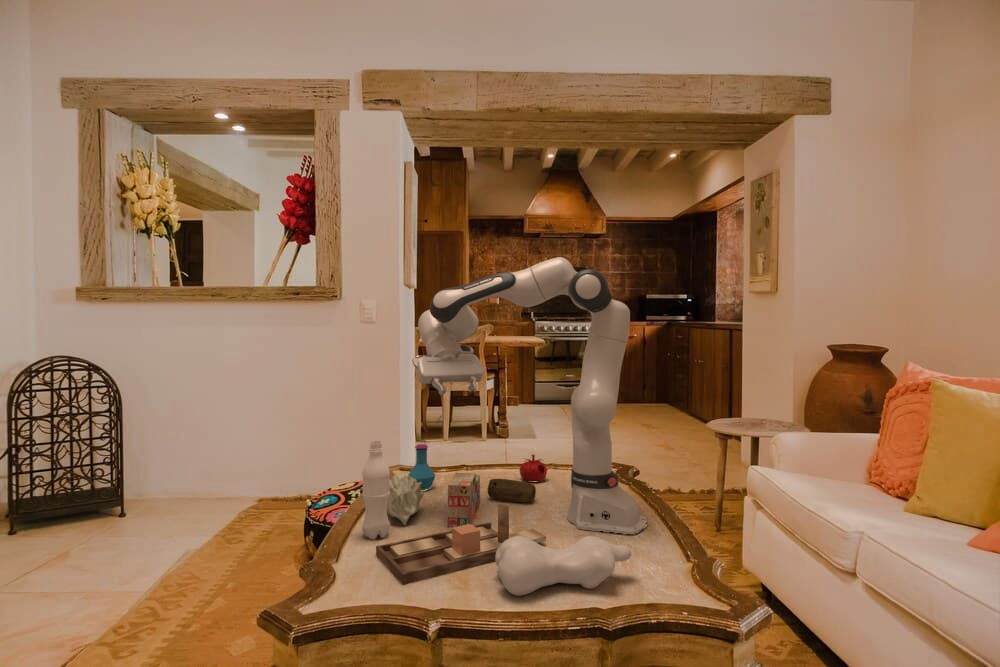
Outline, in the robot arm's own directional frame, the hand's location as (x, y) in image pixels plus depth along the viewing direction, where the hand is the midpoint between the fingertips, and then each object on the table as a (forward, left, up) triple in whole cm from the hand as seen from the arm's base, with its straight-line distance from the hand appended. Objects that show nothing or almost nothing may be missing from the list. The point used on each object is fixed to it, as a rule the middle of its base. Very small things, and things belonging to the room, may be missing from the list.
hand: (458, 391), depth 155 cm
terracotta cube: (-14, +18, -35) cm, 42 cm away
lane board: (-9, +18, -37) cm, 42 cm away
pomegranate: (+1, -50, -38) cm, 63 cm away
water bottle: (+15, +18, -38) cm, 44 cm away
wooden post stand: (-18, +11, -36) cm, 42 cm away
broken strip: (-6, +15, -37) cm, 41 cm away
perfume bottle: (+30, -22, -38) cm, 53 cm away
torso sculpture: (-39, +17, -38) cm, 57 cm away
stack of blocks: (+3, -8, -38) cm, 39 cm away
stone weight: (-3, -26, -38) cm, 46 cm away
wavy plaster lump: (+18, +3, -38) cm, 42 cm away
